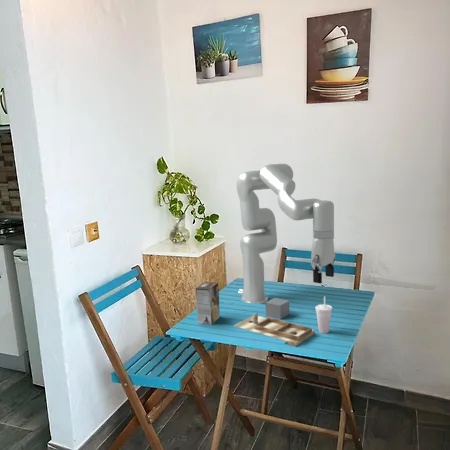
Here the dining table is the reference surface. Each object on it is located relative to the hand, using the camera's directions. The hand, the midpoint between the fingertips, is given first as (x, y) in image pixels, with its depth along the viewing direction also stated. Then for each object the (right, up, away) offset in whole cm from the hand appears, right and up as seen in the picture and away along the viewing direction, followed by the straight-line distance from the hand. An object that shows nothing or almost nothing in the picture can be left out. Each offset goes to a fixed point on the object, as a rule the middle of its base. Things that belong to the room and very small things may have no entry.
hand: (323, 279), depth 164 cm
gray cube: (-15, -18, +19) cm, 30 cm away
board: (-18, -21, +6) cm, 28 cm away
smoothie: (+1, -20, +4) cm, 21 cm away
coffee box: (-43, -20, +16) cm, 50 cm away
